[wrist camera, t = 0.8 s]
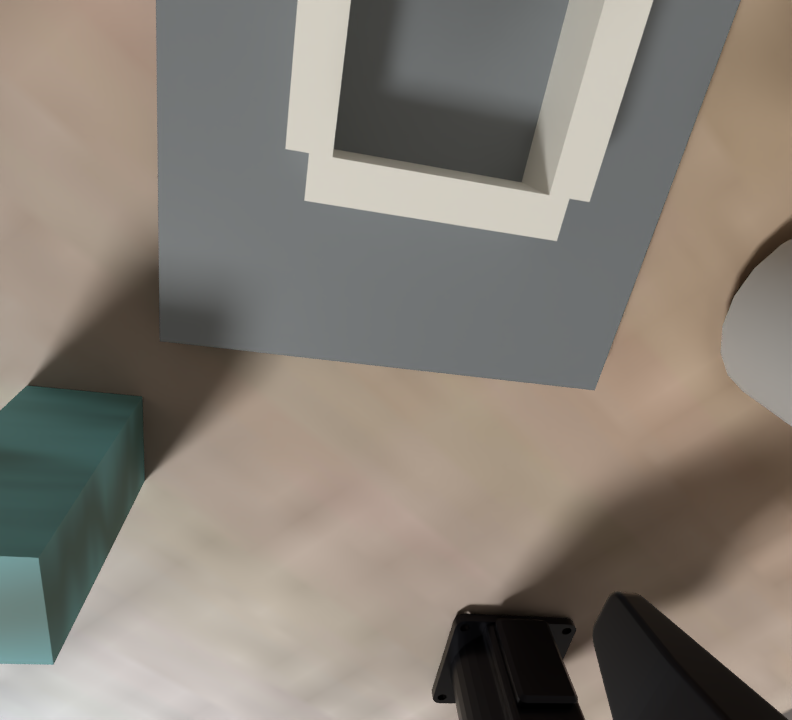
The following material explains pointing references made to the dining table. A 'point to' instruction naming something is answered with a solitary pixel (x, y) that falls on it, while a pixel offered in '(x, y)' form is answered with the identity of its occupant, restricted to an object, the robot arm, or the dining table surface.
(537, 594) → the dining table surface
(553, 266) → the holder
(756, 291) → the can
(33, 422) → the peg
